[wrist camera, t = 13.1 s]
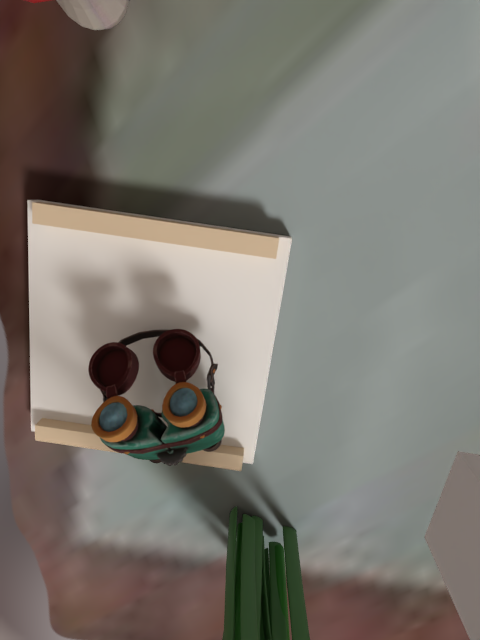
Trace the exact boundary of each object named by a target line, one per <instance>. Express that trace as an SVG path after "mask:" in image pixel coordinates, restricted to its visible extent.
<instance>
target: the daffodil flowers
mask: <svg viewBox="0 0 480 640" xmlns="http://www.w3.org/2000/svg"><path fill="white" fill-rule="evenodd" d="M236 531H237V539H236ZM283 538H284V548H283V546H281V544H280V543H278V542H269V553H268V548H266V549H264V536H263V520H262V519H261V518H259V517H257V516H252V517H250V516H248V515H246V514H243V520H242V523H239V524H238V526H237V507H235V508H233V509H232V511H231V512H230V517H229V532H228V547H227V562H226V587H225V616H224V633H223V639H222V640H290V639H289V623H288V607H287V592H286V577H287V588H288V599H289V609H290V620H291V631H292V640H310V637H309V630H308V623H307V615H306V608H305V600H304V593H303V585H302V577H301V569H300V560H299V552H298V543H297V534H296V530H295V529H293V528H291V527H287V526H283ZM284 551H285V560H284ZM285 564H286V576H285ZM269 567H270V575H269Z"/></svg>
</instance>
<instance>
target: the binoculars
mask: <svg viewBox="0 0 480 640" xmlns="http://www.w3.org/2000/svg"><path fill="white" fill-rule="evenodd" d="M152 337H158V339H157V340H156V342H155V344H154V347H153V356H154V360H155V362H156V365H157V367H158V369H159V370H160V372H161V373H162V374H163V375H164V376H165V377H166V378H168V379H169V380H171V381H174V382H175V383H176V384H175V385H174V386H172V387H171V388H170V389H169V391H168V392H167V394H166V396H165V398H164V400H163V404H162V413H157V412H154V410H153V409H149V408H147V407H145V406H141V405H132V404H131V403H130V402H129V401H128V400H127V399H126V398H125V397H122V396H118V395H122V394H124V393H126V392H127V391H128V390H129V389H130V388H131V386H132V385H133V383H134V382H135V380H136V377H137V375H138V371H139V361H138V358H137V356H136V354H135V353H134V352H133V351H132V350H130V349H129V348H128V347H126V346H127V345H129V344H132V343H134V342H137V341H139V340H141V339H145V338H152ZM200 346H201V347H202V348H203V349H204V350H205V352H206V353H207V354H208V355H209V356H210V360H211V366H210V369H209V372H208V374H207V387H208V389H205V388H203V389H199V388H198V387H196V386H195V385H193V384H191V383H188V382H186V381H187V380H188V379H189V378H191V377H192V376H193V375H194V373H195V372H196V370H197V369H198V366H199V364H200V359H201V352H200ZM217 367H218V364H214V362H213V358H212V355H211V353H210V352H209V350H208V349H207V348H206V347H205V346H204V344H203V343H202V342H201V341H200V340H198V339H197V338H196V337H195V336H194V335H193V334H192V333H190V332H189V331H186V330H183V329H172V330H150V331H143V332H138V333H136V334H133V335H131V336H129V337H126V338H124V339H121V340H120V341H119V342H111V343H107V344H105V345H103V346H101V347H100V348H98V349H97V350H96V351H95V353H94V354H93V355H92V357H91V359H90V362H89V368H88V371H89V376H90V378H91V380H92V382H93V383H94V385H95V386H96V387H97V388H99V389H100V391H101V393H102V394H103V403H102V404H101V405H100V407H99V408H98V409H97V410H96V412H95V414H94V415H93V418H92V422H91V426H92V430H93V432H94V433H95V434H96V435H97V436H99V437H100V439H101V441H102V442H103V443H104V444H105V445H106V446H107V447H109V448H110V449H112V450H113V451H116V452H119V453H125V454H127V455H130V456H132V457H134V458H138V459H145V460H150V461H151V462H153V463H160V462H162V463H164V464H165V463H166V464H167V465H169V466H171V465H177V463H179V462H182V461H183V458H184V457H186V454H188V453H193V452H197V451H201V450H203V451H206V452H212V451H215V450H217V449H218V448H219V447H220V445H221V442H222V438H223V436H224V432H225V427H224V422H223V419H222V418H223V416H222V412H221V408H222V406H221V405H220V403H219V401H218V399H217V398H216V396H215V394H214V388H215V380H214V374H215V372H216V370H217ZM211 386H212V388H211ZM159 417H162V418H163V419H164V420H165V421H166V422H167V424H168V426H166V425H165V424H164V422H163V421H162V420H161V419H160V418H159Z"/></svg>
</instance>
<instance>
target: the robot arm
mask: <svg viewBox="0 0 480 640" xmlns="http://www.w3.org/2000/svg"><path fill="white" fill-rule="evenodd" d="M425 539H426V542H427V544H428V546H429V548H430V551H431V553H432V555H433V557H434V560H435V562H436V564H437V566H438V569H439V571H440V573H441V575H442V578H443V580H444V582H445V584H446V587H447V589H448V591H449V593H450V596H451V598H452V600H453V602H454V605H455V607H456V609H457V611H458V614H459V616H460V618H461V620H462V623H463V625H464V627H465V629H466V632H467V634H468V636H469V638H470V640H480V455H477V454H471V453H465V452H459V451H458V452H457V455H456V458H455V460H454V463H453V465H452V468H451V470H450V473H449V476H448V478H447V481H446V483H445V486H444V488H443V491H442V494H441V496H440V499H439V501H438V504H437V506H436V509H435V512H434V514H433V517H432V519H431V522H430V524H429V527H428V530H427V532H426V535H425Z"/></svg>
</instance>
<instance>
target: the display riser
mask: <svg viewBox="0 0 480 640" xmlns="http://www.w3.org/2000/svg"><path fill="white" fill-rule="evenodd" d="M27 203H28V265H29V327H30V389H31V431H35V440H37V441H43V442H50V443H57V444H63V445H70V446H77V447H83V448H90V449H97V450H103V451H110V452H116V451H113V450H112V449H110V448H109V447H107V446H106V445H105V444H104V443H103V442H102V441H101V439H100V437H99V436H97V435H96V434H95V433H94V432H93V430H92V426H91V422H92V418H93V415H94V414H95V412H96V410H97V409H98V408H99V407H100V405H101V404H102V403H103V394H102V393H101V391H100V389H99V388H97V387H96V386H95V385H94V383H93V382H92V380H91V378H90V376H89V371H88V368H89V362H90V359H91V357H92V355H93V354H94V353H95V351H96V350H97V349H98V348H100V347H101V346H103V345H105V344H107V343H111V342H119V341H120V340H121V339H124V338H126V337H129V336H131V335H133V334H136V333H138V332H143V331H150V330H172V329H183V330H186V331H189V332H190V333H192V334H193V335H194V336H195V337H196V338H197V339H198V340H200V341H201V342H202V343H203V344H204V346H205V347H206V348H207V349H208V350H209V352H210V353H211V355H212V358H213V362H214V364H218V367H217V370H216V372H215V374H214V380H215V388H214V394H215V396H216V398H217V399H218V401H219V403H220V405H221V406H222V408H221V412H222V416H223V418H222V419H223V422H224V427H225V432H224V436H223V438H222V442H221V445H220V447H219V448H218V449H217V450H215V451H212V452H206V451H203V450H201V451H197V452H193V453H188V454H186V457H184V458H183V461H182V462H184V463H190V464H197V465H204V466H210V467H217V468H224V469H231V470H237V471H241V468H242V463H249V464H253V460H254V454H255V449H256V443H257V437H258V431H259V426H260V420H261V414H262V408H263V403H264V397H265V391H266V385H267V380H268V374H269V368H270V362H271V357H272V351H273V345H274V339H275V334H276V328H277V322H278V316H279V311H280V305H281V299H282V293H283V288H284V282H285V276H286V270H287V265H288V259H289V253H290V247H291V242H292V238H291V236H284V235H277V234H270V233H263V232H257V231H250V230H243V229H236V228H229V227H222V226H215V225H208V224H202V223H195V222H188V221H181V220H174V219H167V218H160V217H153V216H147V215H140V214H133V213H126V212H119V211H112V210H105V209H99V208H92V207H85V206H78V205H71V204H64V203H57V202H50V201H44V200H27ZM157 339H158V337H152V338H145V339H141V340H139V341H137V342H134V343H132V344H129V345H127V346H126V347H128V348H129V349H130V350H132V351H133V352H134V353H135V354H136V356H137V358H138V361H139V371H138V375H137V377H136V380H135V382H134V383H133V385H132V386H131V388H130V389H129V390H128V391H127V392H126V393H124V394H122V395H118V396H122V397H125V398H126V399H127V400H128V401H129V402H130V403H131V404H132V405H141V406H145V407H147V408H149V409H153V410H154V412H157V413H162V404H163V400H164V398H165V396H166V394H167V392H168V391H169V389H170V388H171V387H172V386H174V385H175V384H176V383H175V382H174V381H171V380H169V379H168V378H166V377H165V376H164V375H163V374H162V373H161V372H160V370H159V369H158V367H157V365H156V362H155V360H154V356H153V347H154V344H155V342H156V340H157ZM200 352H201V359H200V364H199V366H198V369H197V370H196V372H195V373H194V375H193V376H192V377H191V378H189V379H188V380H187V381H186V382H188V383H191V384H193V385H195V386H196V387H198V388H199V389H203V388H205V389H208V387H207V374H208V372H209V369H210V366H211V360H210V356H209V355H208V354H207V353H206V352H205V350H204V349H203V348H202V347H201V346H200ZM211 388H212V386H211ZM159 418H160V419H161V420H162V421H163V422H164V424H165V425H166V426H168V424H167V422H166V421H165V420H164V419H163V418H162V417H159ZM117 453H119V452H117ZM124 454H125V453H124Z"/></svg>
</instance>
